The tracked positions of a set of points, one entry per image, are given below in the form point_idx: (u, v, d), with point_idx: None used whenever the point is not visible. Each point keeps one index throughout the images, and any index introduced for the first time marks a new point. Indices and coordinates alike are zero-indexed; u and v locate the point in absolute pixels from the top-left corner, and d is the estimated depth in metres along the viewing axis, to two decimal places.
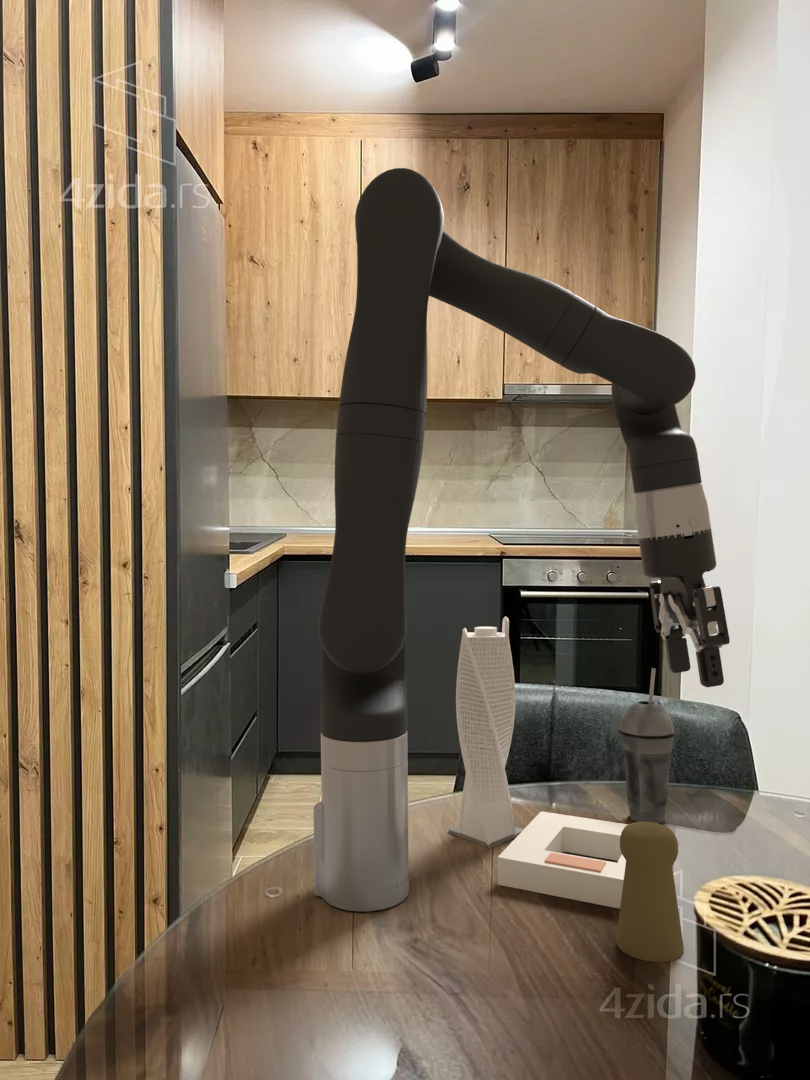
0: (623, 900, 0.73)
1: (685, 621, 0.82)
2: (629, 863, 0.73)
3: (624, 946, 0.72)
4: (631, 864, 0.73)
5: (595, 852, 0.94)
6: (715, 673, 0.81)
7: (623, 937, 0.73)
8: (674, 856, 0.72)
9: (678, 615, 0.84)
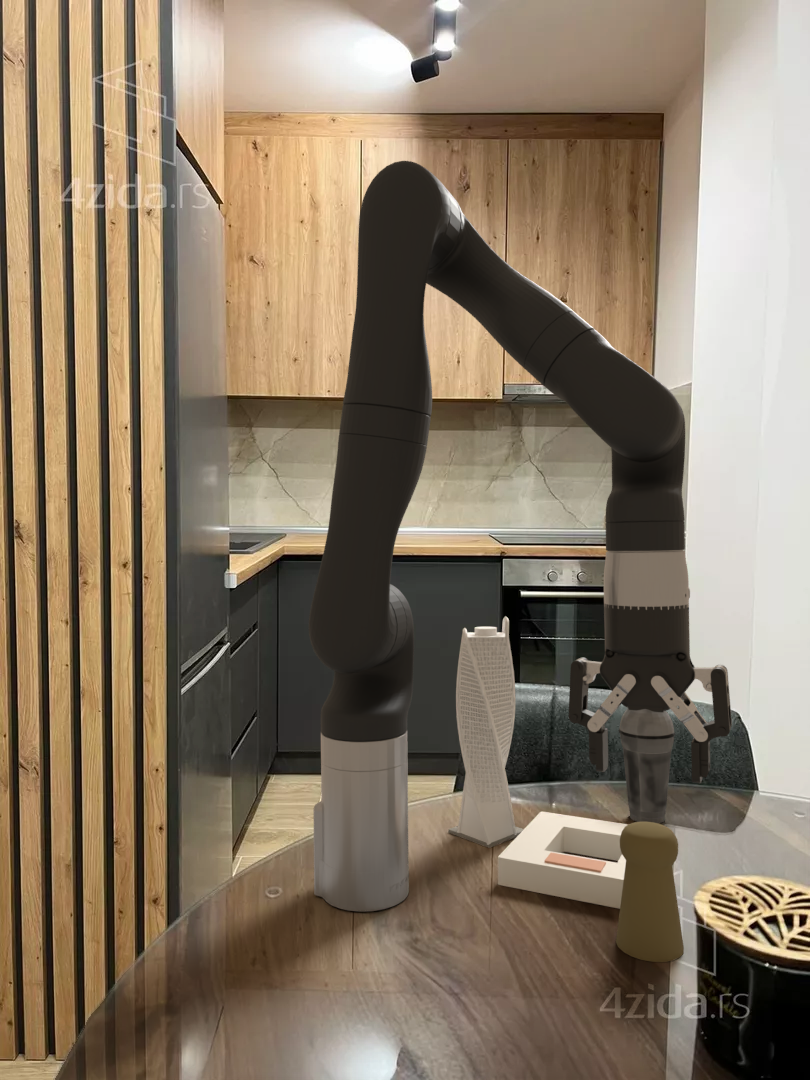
0: (623, 900, 0.73)
1: (686, 707, 0.70)
2: (629, 863, 0.73)
3: (624, 946, 0.72)
4: (631, 864, 0.73)
5: (595, 852, 0.94)
6: None
7: (623, 937, 0.73)
8: (674, 856, 0.72)
9: (669, 700, 0.71)
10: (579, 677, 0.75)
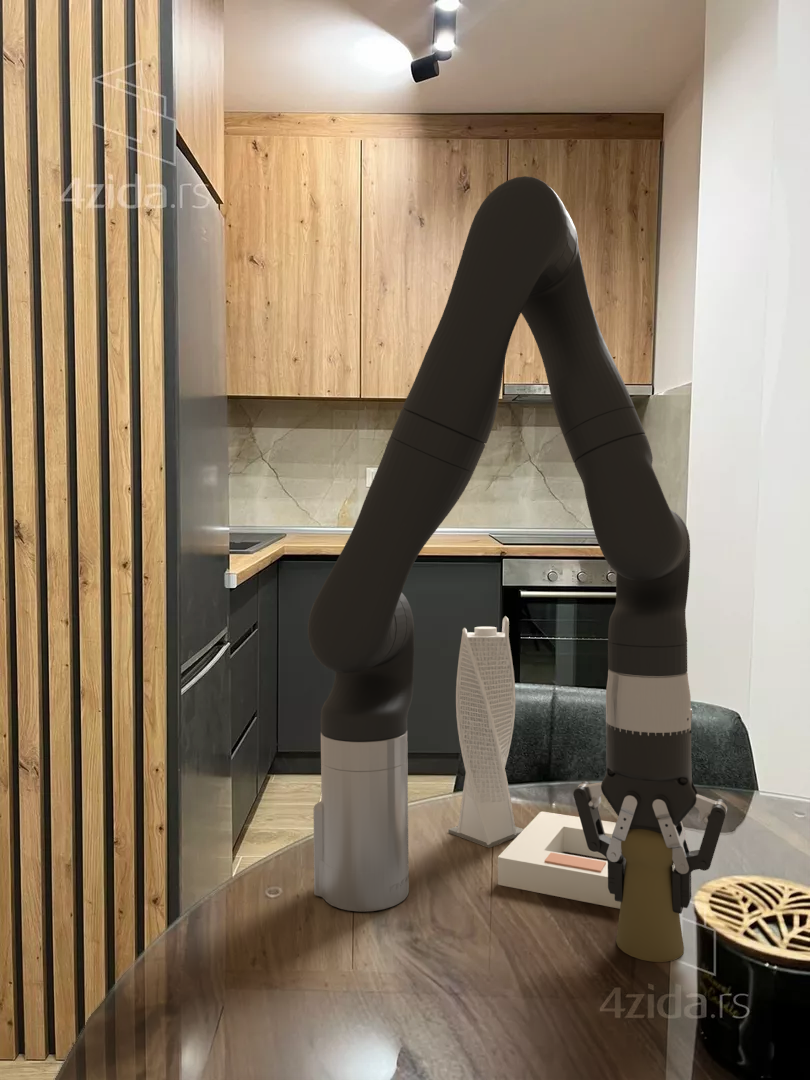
0: (623, 900, 0.73)
1: (678, 838, 0.71)
2: (629, 863, 0.73)
3: (624, 946, 0.72)
4: (631, 864, 0.73)
5: (595, 852, 0.94)
6: None
7: (623, 937, 0.73)
8: None
9: (664, 826, 0.71)
10: (585, 804, 0.75)
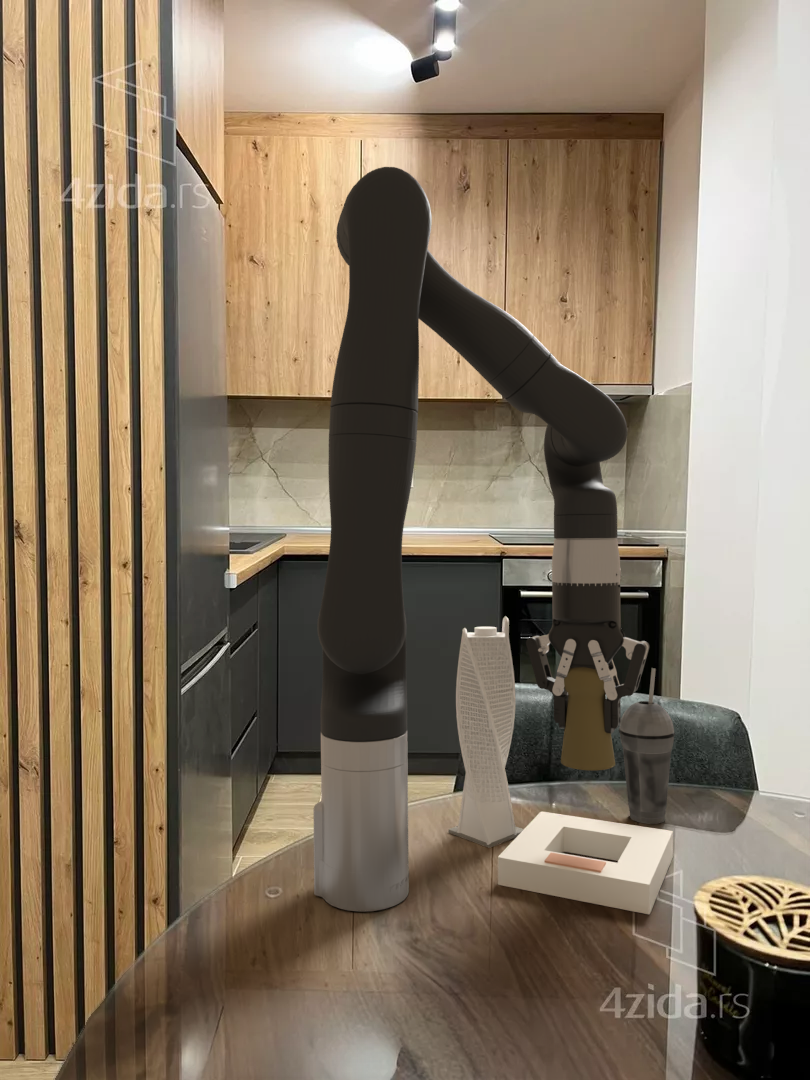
0: (566, 726, 0.90)
1: (608, 671, 0.87)
2: (570, 695, 0.89)
3: (566, 761, 0.89)
4: (571, 696, 0.89)
5: (595, 852, 0.94)
6: None
7: (565, 755, 0.89)
8: None
9: (597, 661, 0.88)
10: (535, 650, 0.91)
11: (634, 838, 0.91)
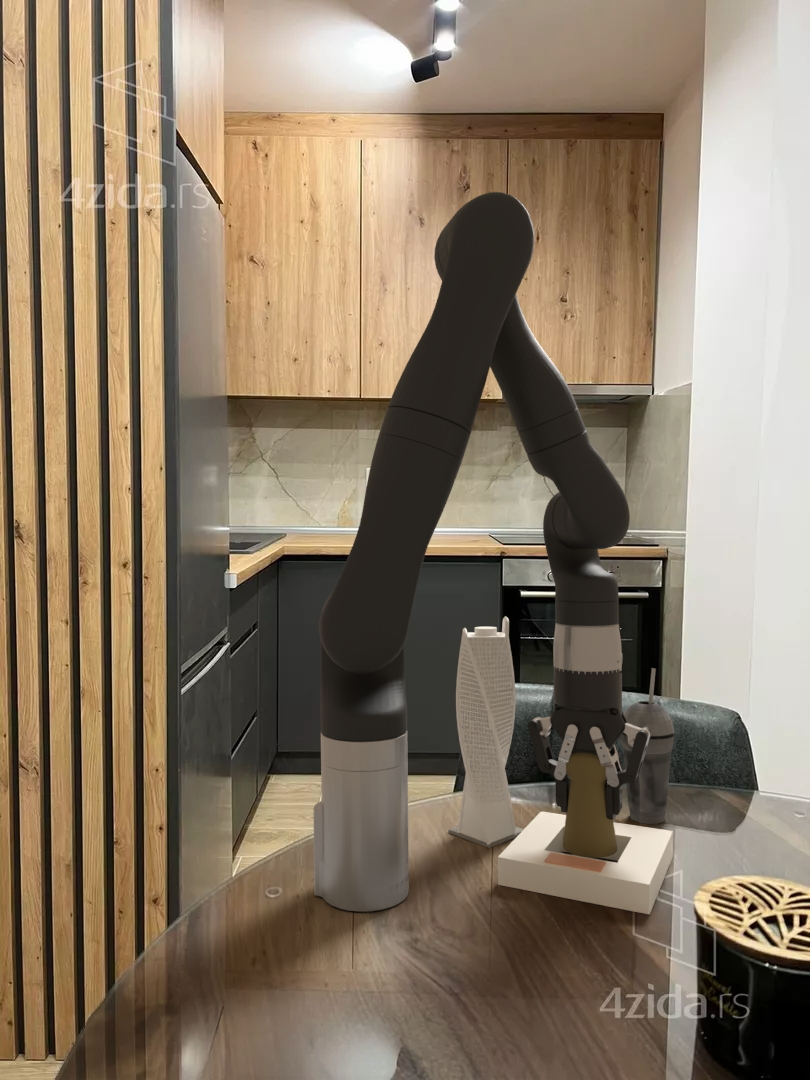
0: (568, 810, 0.90)
1: (610, 757, 0.87)
2: (572, 780, 0.89)
3: (568, 847, 0.89)
4: (573, 781, 0.89)
5: None
6: None
7: (567, 840, 0.89)
8: None
9: (599, 748, 0.88)
10: (537, 733, 0.91)
11: (634, 838, 0.91)
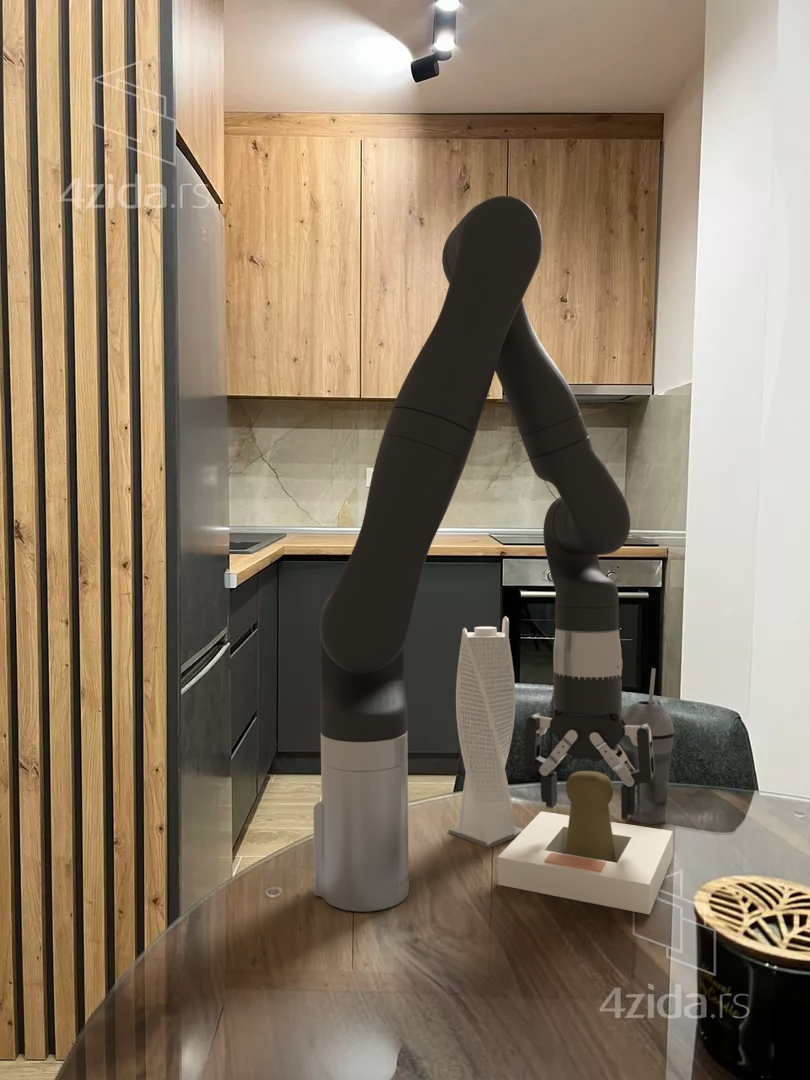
0: (568, 833, 0.90)
1: (617, 758, 0.87)
2: (573, 803, 0.89)
3: None
4: (574, 804, 0.89)
5: None
6: None
7: None
8: (608, 797, 0.88)
9: (604, 752, 0.88)
10: (533, 730, 0.92)
11: (634, 838, 0.91)
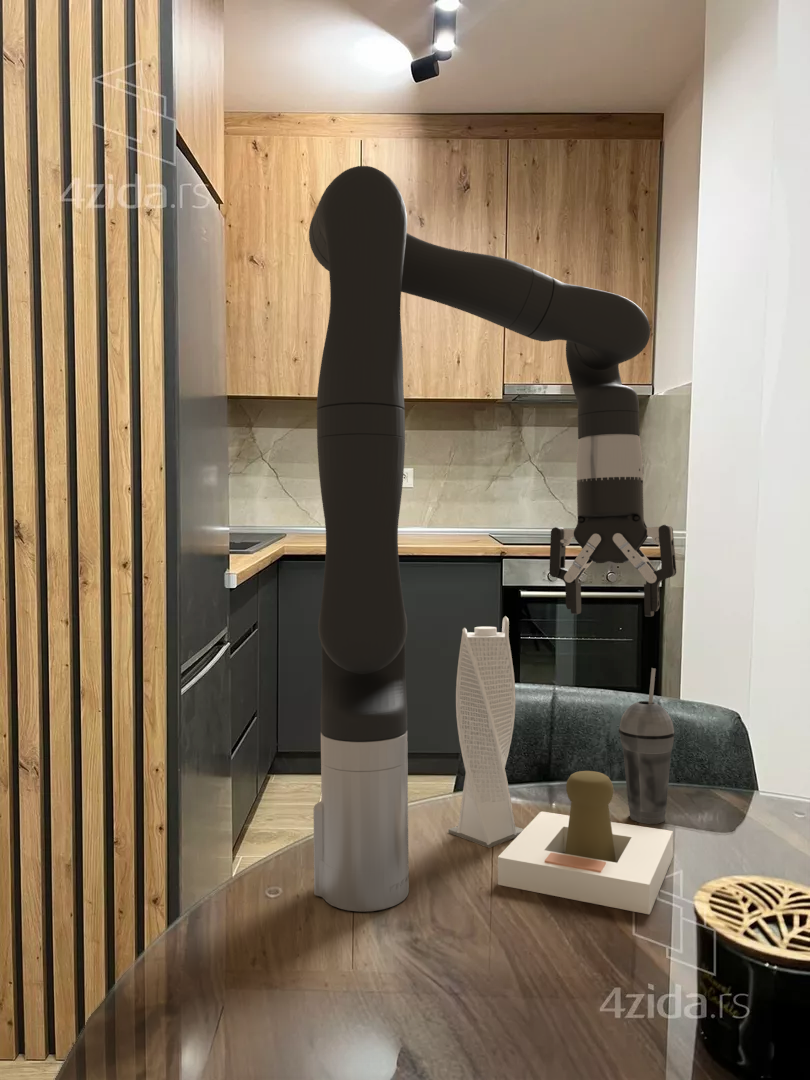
0: (568, 833, 0.90)
1: (640, 556, 0.90)
2: (573, 803, 0.89)
3: None
4: (574, 804, 0.89)
5: None
6: None
7: None
8: (609, 797, 0.88)
9: (627, 552, 0.91)
10: (557, 540, 0.95)
11: (634, 838, 0.91)
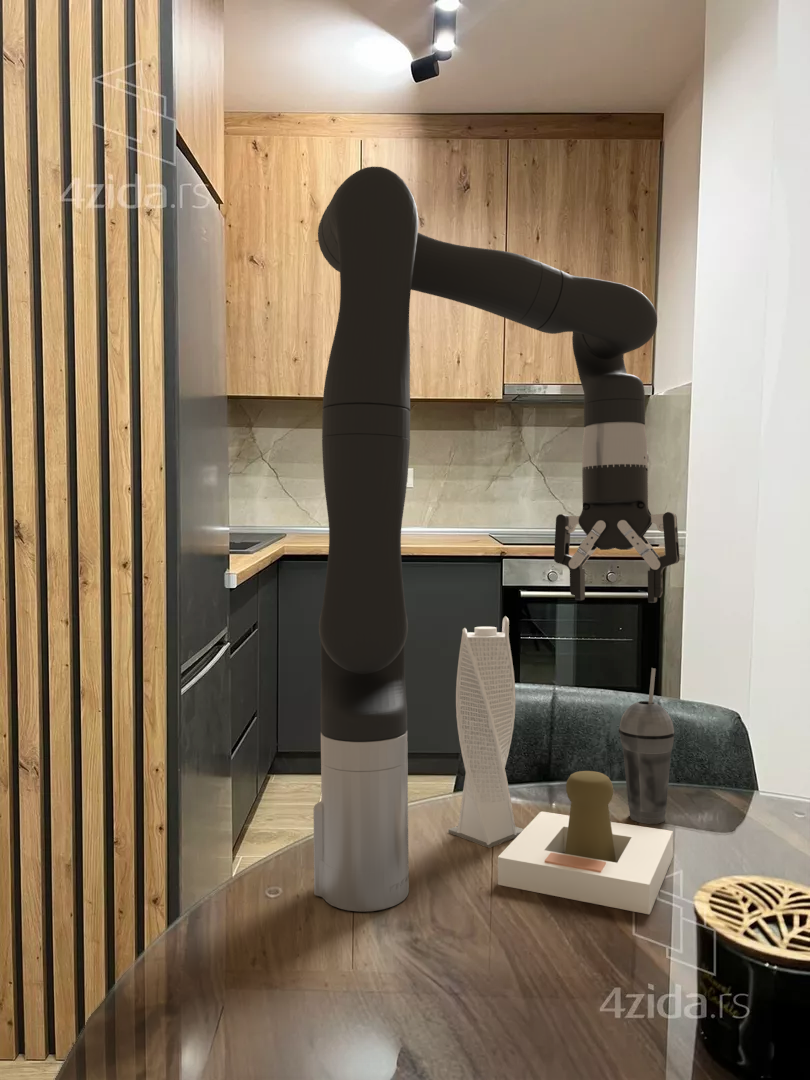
0: (568, 833, 0.90)
1: (644, 543, 0.91)
2: (573, 803, 0.89)
3: None
4: (574, 804, 0.89)
5: None
6: None
7: None
8: (608, 797, 0.88)
9: (631, 538, 0.92)
10: (562, 527, 0.96)
11: (634, 838, 0.91)
